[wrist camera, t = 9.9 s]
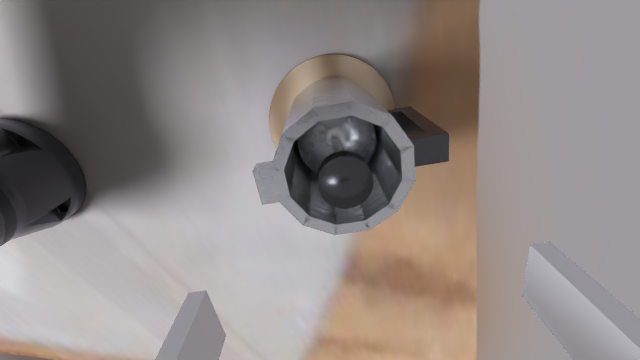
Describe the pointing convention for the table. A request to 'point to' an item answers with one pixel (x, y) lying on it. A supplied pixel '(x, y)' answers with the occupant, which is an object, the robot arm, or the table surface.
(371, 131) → the plunger
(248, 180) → the table surface
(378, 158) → the carafe
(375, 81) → the trivet
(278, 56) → the table surface
